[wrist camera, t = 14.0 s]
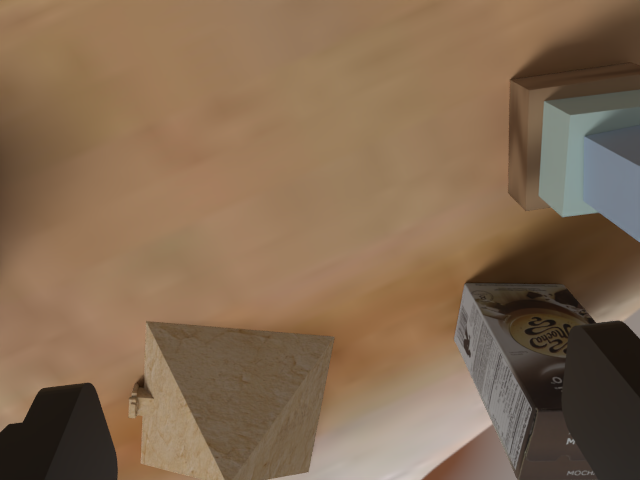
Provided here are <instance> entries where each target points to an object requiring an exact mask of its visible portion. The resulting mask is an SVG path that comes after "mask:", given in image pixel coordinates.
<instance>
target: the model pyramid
mask: <svg viewBox="0 0 640 480" xmlns="http://www.w3.org/2000/svg"><path fill="white" fill-rule="evenodd" d="M333 343H334V337H330V336H318V335H306V334H294V333H282V332H269V331H257V330H245V329H233V328H220V327H208V326H196V325H184V324H172V323H159V322H147V321H146V340H145V366H144V388H142V387H139V384H138V383H136V384H135V385H134V388H133V391H132V397H130V398H129V417H130V418H136V416H137V415H141V416H143V419H142V445H141V464H144V465H148V466H152V467H156V468H160V469H164V470H167V471H171V472H175V473H179V474H183V475H187V476H190V477H194V478H198V479H202V480H266V479H272V478H278V477H283V476H289V475H295V474H301V473H306V472H309V466H310V461H311V456H312V451H313V446H314V441H315V435H316V430H317V425H318V420H319V415H320V410H321V404H322V399H323V394H324V389H325V384H326V379H327V373H328V368H329V363H330V358H331V353H332V348H333ZM129 417H128V418H129Z"/></svg>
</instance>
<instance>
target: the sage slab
mask: <svg viewBox="0 0 640 480" xmlns="http://www.w3.org/2000/svg"><path fill="white" fill-rule="evenodd" d="M637 125H640V90H631V91H623V92H615V93H607V94H598V95H590V96H582V97H574V98H566V99H557V100H549V101H544V110H543V127H542V145H541V162H540V179H539V197H540V198H542V199H543V200H544V201H545V202H546V203H547V204H548V205H549V206H550V207H552V208H553V209H554V210H555V211H556V212H557V213H558V214H559V215H560V216H562V217H568V216H576V215H584V214H591V213H599V212H598V211H596V210H595V209H594V208H592V207H591V206H590V205H588V204H587V203H585V202H584V201H583V182H584V136H588V135H593V134H597V133H602V132H607V131H612V130H617V129H622V128H627V127H632V126H637Z"/></svg>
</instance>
